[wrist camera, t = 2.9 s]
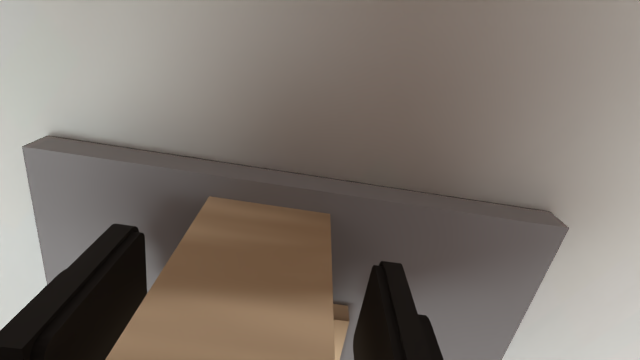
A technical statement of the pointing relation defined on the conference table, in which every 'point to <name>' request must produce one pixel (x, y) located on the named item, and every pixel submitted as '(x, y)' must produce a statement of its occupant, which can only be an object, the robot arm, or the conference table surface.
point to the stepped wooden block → (242, 290)
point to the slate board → (319, 196)
